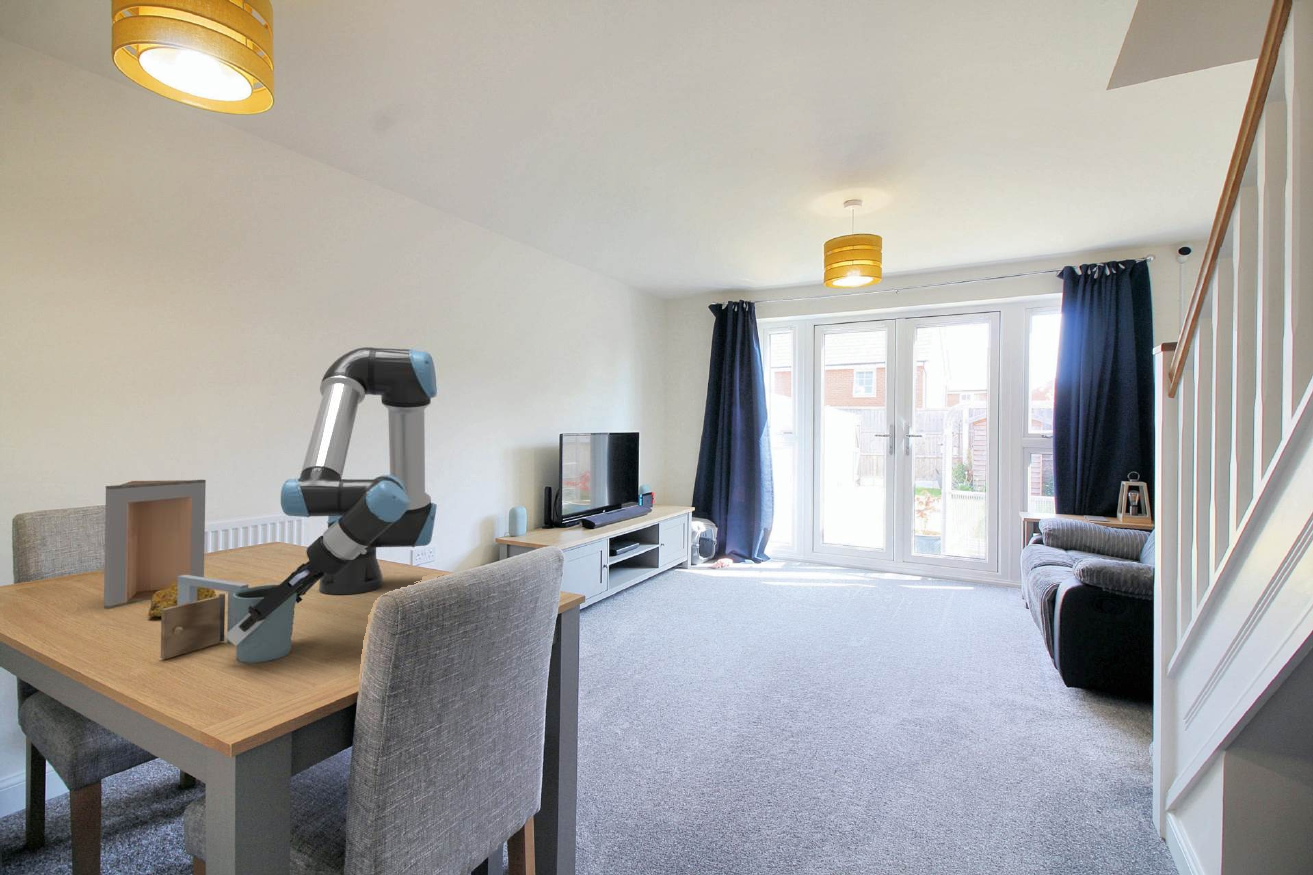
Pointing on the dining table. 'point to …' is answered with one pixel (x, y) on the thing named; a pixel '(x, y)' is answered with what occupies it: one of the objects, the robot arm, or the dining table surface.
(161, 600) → the rock
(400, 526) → the robot arm
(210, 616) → the door
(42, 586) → the dining table surface
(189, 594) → the grey rectangular arch
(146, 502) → the cabinet
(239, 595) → the teal cup
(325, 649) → the dining table surface
